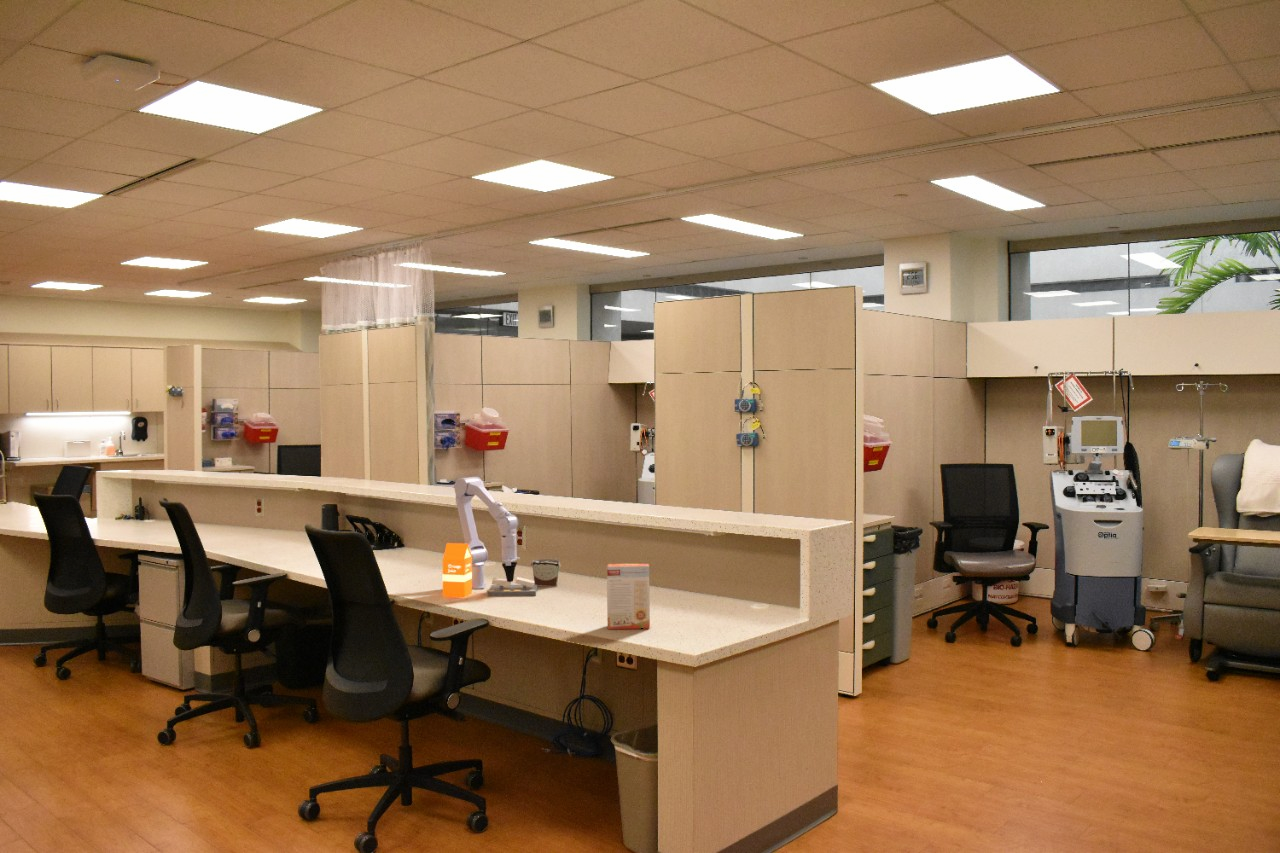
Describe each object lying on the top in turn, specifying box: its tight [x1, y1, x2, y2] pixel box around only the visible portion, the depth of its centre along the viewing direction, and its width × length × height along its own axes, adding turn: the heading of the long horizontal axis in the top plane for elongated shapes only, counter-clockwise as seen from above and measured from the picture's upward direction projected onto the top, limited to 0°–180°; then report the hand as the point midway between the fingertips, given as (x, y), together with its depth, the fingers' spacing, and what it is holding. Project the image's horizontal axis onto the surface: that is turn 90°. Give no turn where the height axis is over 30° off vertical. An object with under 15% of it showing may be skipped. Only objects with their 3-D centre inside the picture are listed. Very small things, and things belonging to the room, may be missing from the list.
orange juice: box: [442, 542, 473, 599], centre depth 367 cm, size 8×9×20 cm
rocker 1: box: [491, 577, 512, 587], centre depth 372 cm, size 7×5×2 cm
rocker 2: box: [515, 576, 535, 587], centre depth 373 cm, size 7×5×2 cm
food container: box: [530, 558, 561, 587], centre depth 388 cm, size 12×6×10 cm, turn 76°
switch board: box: [487, 584, 538, 597], centre depth 373 cm, size 18×14×3 cm
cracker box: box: [606, 563, 651, 630], centre depth 316 cm, size 14×6×21 cm, turn 92°
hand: (510, 581), depth 372 cm, fingers closed, pressing on rocker 1
